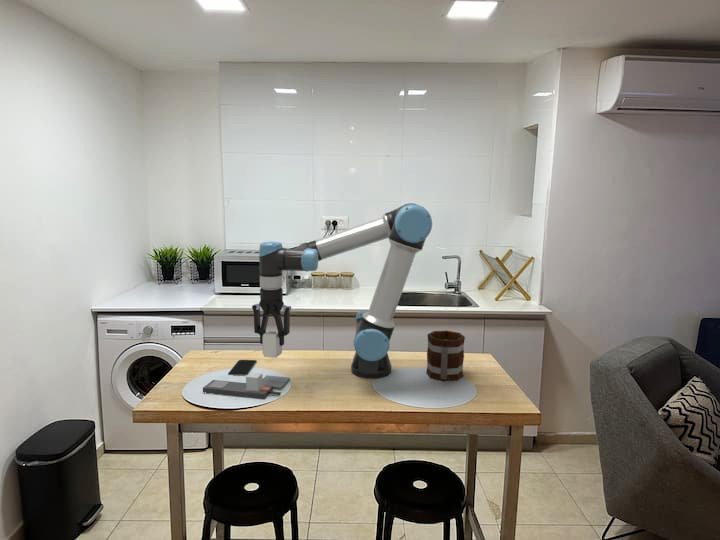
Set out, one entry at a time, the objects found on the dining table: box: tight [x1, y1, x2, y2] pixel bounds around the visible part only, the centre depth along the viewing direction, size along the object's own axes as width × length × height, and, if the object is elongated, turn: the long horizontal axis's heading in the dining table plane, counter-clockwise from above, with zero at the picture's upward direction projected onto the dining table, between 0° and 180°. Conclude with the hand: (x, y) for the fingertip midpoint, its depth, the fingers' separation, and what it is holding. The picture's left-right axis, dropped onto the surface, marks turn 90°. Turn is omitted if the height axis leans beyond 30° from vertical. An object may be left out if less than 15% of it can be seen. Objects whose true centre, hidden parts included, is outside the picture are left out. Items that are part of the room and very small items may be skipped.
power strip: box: [202, 379, 282, 400], centre depth 167 cm, size 26×7×2 cm, turn 78°
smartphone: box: [227, 359, 258, 377], centre depth 189 cm, size 7×1×15 cm
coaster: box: [262, 375, 291, 391], centre depth 174 cm, size 9×9×1 cm
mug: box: [425, 330, 466, 383], centre depth 180 cm, size 20×14×15 cm
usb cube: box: [245, 371, 264, 391], centre depth 166 cm, size 4×4×4 cm
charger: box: [262, 330, 279, 359], centre depth 172 cm, size 4×4×8 cm
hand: (272, 353), depth 172 cm, fingers closed on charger, 4 cm apart
